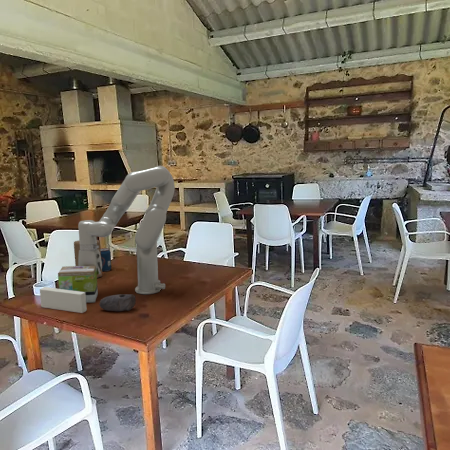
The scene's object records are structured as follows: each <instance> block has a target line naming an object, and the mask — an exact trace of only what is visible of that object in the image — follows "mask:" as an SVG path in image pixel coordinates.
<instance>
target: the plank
mask: <svg viewBox="0 0 450 450" xmlns="http://www.w3.org/2000/svg"><path fill="white" fill-rule="evenodd" d="M39 295H40V298H39V299H40V306H41V308H46V309H53V310H60V311H66V312H72V313H73V312H74V313H80V314H83V313H85V312H86V311H87V310H88V309H87V303H86V294H85V292H80V291H72V290H64V289H59V288H56V287H47V286H44V287H41V288H40V289H39Z"/></svg>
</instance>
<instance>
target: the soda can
mask: <svg viewBox="0 0 450 450" xmlns="http://www.w3.org/2000/svg"><path fill="white" fill-rule="evenodd" d="M100 249H101V262H102V272H109V271H111V269H112V258H111V257H112V255H111V253H112V252H111V250H110V248H109V247H108V248H107V247H105V248H100Z"/></svg>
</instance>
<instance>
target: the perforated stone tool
mask: <svg viewBox="0 0 450 450" xmlns="http://www.w3.org/2000/svg"><path fill="white" fill-rule="evenodd" d="M136 301H137V300H136V296H135V295H134V294H126V293H125V294H121V293H120V294H113V295H107V296H105V297H103V298H101V299H100V300H99V307H100V308H101V309H102V310H104V311H108V312H110V311H113V312H124V311H131V310H132V309H133V308H134V307H135V305H136Z"/></svg>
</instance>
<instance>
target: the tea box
mask: <svg viewBox="0 0 450 450" xmlns="http://www.w3.org/2000/svg"><path fill="white" fill-rule="evenodd" d="M57 280H58V289H64V290H72V291H80V292H85V294H86V304H87V303H96V300H97V297H98V292H99V291H98V289H99V288H98V278H97V271H96V266H75V265H70V266H66V265H65V266H62V267H61V268H60V270H59V271H58V273H57Z"/></svg>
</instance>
